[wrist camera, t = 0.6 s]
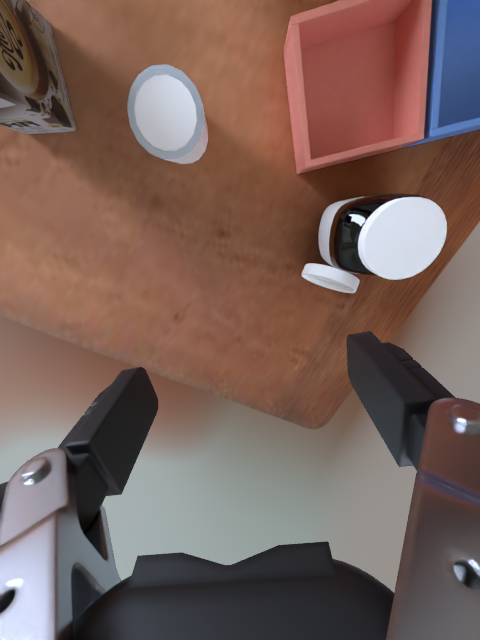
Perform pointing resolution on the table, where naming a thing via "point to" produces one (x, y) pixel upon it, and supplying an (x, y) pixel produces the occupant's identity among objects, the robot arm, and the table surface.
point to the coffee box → (31, 73)
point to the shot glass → (168, 114)
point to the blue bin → (453, 70)
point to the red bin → (356, 79)
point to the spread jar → (377, 239)
